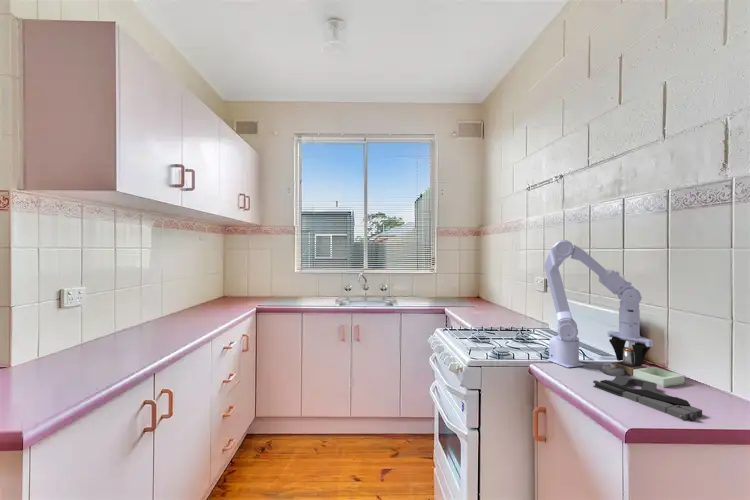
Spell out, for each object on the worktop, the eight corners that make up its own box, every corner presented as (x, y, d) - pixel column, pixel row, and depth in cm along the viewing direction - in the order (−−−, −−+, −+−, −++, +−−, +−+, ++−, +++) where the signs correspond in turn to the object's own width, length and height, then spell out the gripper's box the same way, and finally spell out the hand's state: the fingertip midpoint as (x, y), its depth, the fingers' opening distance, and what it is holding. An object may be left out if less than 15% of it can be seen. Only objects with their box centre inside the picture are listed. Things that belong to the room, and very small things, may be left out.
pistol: (625, 373, 119) (590, 379, 114) (725, 405, 96) (687, 414, 90) (625, 380, 119) (590, 387, 114) (725, 414, 96) (686, 424, 90)
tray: (633, 377, 121) (633, 369, 121) (653, 374, 124) (653, 366, 124) (663, 387, 112) (663, 379, 112) (684, 383, 115) (684, 375, 115)
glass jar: (620, 370, 128) (620, 347, 128) (627, 368, 129) (627, 346, 129) (630, 373, 125) (630, 350, 125) (638, 372, 126) (638, 349, 126)
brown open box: (597, 371, 127) (597, 362, 127) (626, 366, 131) (626, 358, 131) (616, 377, 120) (616, 369, 120) (647, 373, 125) (647, 364, 125)
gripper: (660, 325, 121) (659, 368, 121) (617, 317, 135) (617, 355, 135) (644, 327, 119) (644, 370, 119) (603, 319, 133) (602, 357, 133)
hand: (629, 363), depth 127 cm, fingers open, 6 cm apart
